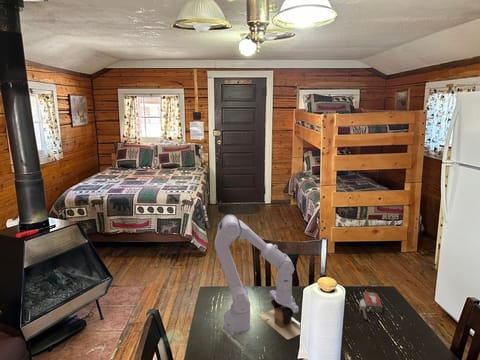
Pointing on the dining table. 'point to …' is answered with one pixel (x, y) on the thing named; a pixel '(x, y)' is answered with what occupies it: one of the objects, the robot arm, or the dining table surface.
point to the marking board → (286, 331)
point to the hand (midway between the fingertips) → (283, 320)
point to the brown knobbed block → (280, 317)
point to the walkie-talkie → (370, 303)
